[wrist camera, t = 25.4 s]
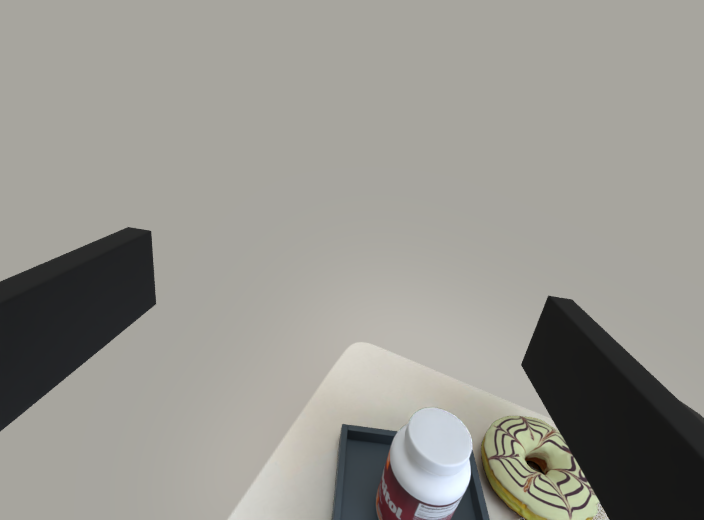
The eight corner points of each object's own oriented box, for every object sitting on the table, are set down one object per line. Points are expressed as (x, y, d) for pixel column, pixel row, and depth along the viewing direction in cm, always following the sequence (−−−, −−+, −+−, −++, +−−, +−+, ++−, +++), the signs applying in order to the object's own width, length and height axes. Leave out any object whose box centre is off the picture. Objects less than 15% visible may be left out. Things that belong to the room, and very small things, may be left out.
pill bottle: (369, 475, 34) (390, 396, 28) (432, 474, 35) (464, 397, 29) (380, 556, 28) (408, 477, 23) (454, 552, 29) (498, 475, 24)
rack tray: (323, 604, 26) (326, 591, 25) (339, 437, 38) (342, 423, 36) (502, 628, 26) (513, 616, 25) (464, 454, 38) (470, 441, 37)
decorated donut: (597, 479, 37) (615, 458, 35) (570, 570, 30) (591, 549, 28) (501, 413, 43) (512, 392, 41) (459, 476, 35) (470, 454, 34)
